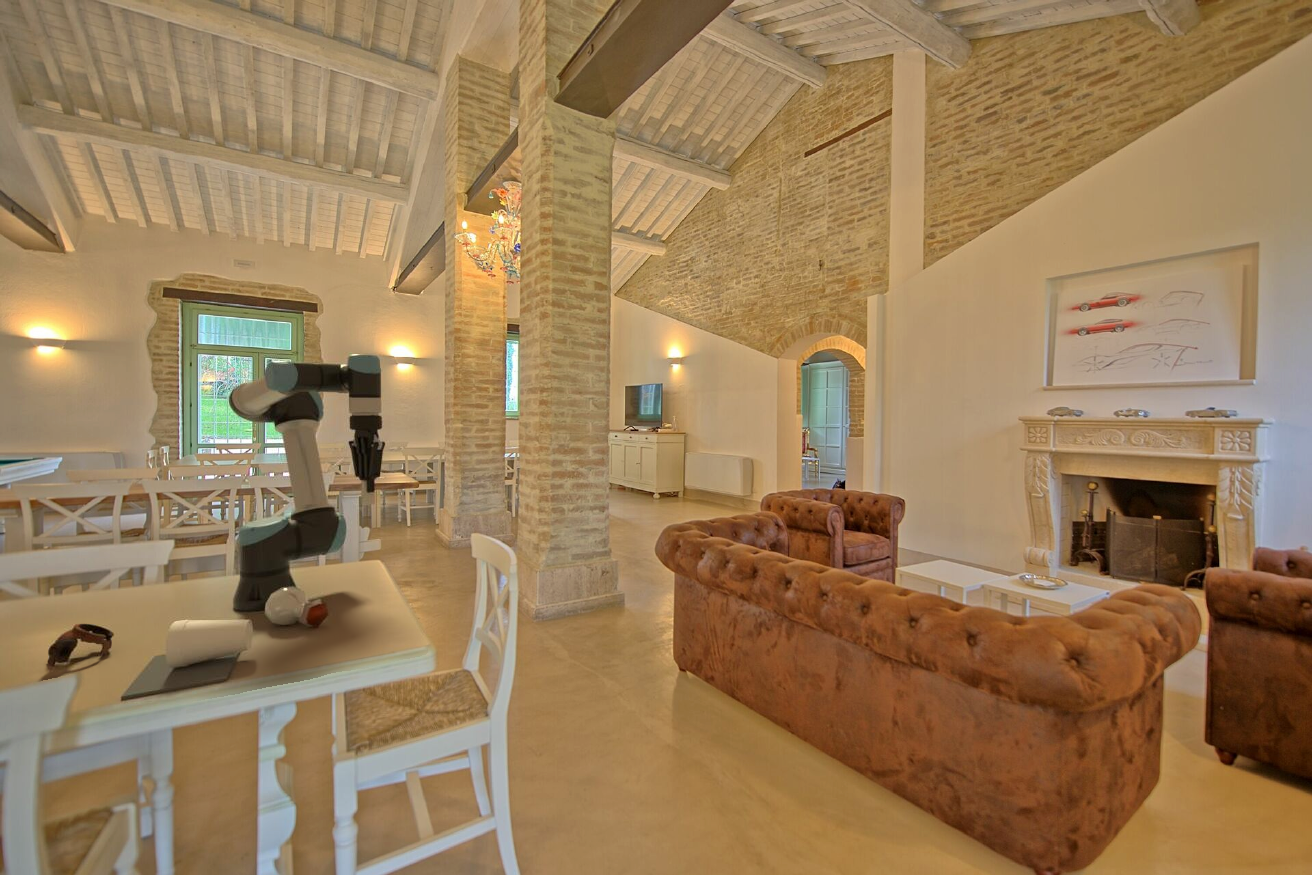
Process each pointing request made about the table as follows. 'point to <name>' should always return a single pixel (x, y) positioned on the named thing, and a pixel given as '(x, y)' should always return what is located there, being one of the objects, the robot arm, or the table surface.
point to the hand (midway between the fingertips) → (368, 504)
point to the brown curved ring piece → (69, 641)
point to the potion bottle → (294, 608)
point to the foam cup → (206, 640)
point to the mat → (179, 675)
